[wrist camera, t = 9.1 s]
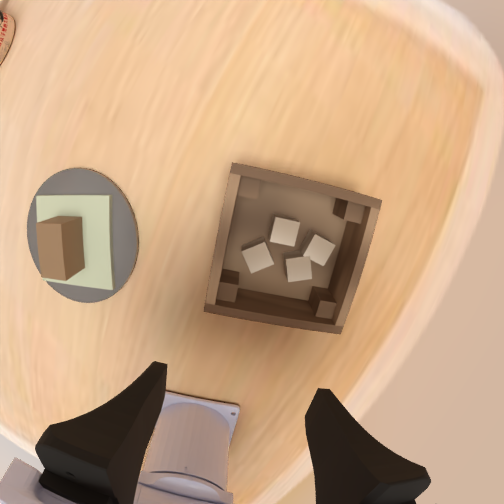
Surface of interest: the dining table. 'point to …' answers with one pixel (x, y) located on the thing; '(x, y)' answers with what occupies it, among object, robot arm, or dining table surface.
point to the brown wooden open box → (289, 250)
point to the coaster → (122, 224)
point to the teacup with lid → (5, 33)
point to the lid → (76, 240)
